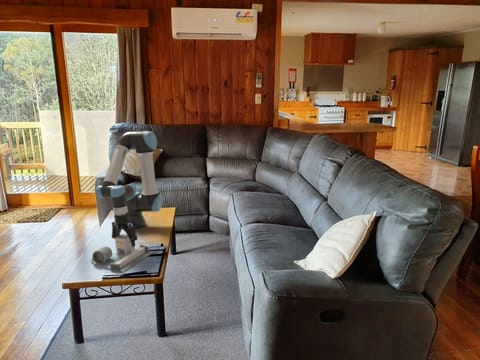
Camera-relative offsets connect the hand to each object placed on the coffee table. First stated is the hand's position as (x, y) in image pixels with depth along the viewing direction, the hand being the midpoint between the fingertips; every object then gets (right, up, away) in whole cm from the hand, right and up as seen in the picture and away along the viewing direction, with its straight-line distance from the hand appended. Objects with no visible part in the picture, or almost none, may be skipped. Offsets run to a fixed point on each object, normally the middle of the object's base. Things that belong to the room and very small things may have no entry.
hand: (126, 250), depth 199 cm
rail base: (+6, -3, -11) cm, 13 cm away
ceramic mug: (-10, -4, -10) cm, 15 cm away
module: (-1, -1, +1) cm, 1 cm away
